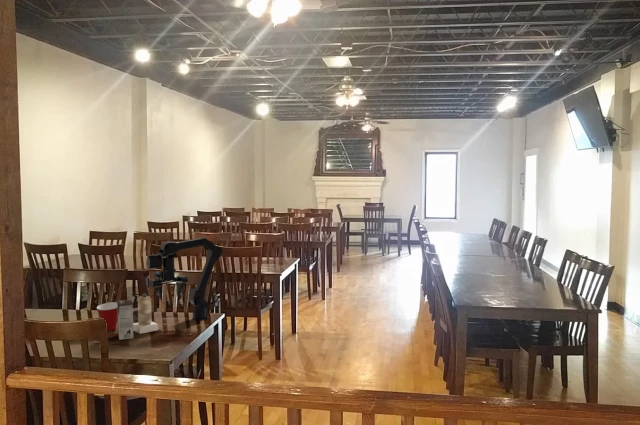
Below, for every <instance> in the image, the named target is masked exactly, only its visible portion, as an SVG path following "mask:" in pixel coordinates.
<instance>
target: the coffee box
mask: <svg viewBox="0 0 640 425" xmlns="http://www.w3.org/2000/svg"><path fill="white" fill-rule="evenodd" d="M116 303H117V314H118V321H117V329H118V330H117V334H118V340H119V341H121V340H128V339H134V331H133V308H134V307H133V306H134V305H133V301H132V299H122V300H121V299H120V300H116Z"/></svg>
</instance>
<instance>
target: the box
mask: <svg viewBox="0 0 640 425" xmlns="http://www.w3.org/2000/svg"><path fill="white" fill-rule="evenodd" d="M133 323H138V307H133Z"/></svg>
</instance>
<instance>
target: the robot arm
mask: <svg viewBox="0 0 640 425" xmlns="http://www.w3.org/2000/svg"><path fill="white" fill-rule="evenodd" d="M196 247H202V248H203V249H204V250H205V251H206V258H205V259H206V260H205V262H204V266H203V268H202V271H201V273H200V276H199V279H198V281H197V284H196V286H195V287H194V288H190V291H189V294H188V295H187V296H188V300H189V301H188V302H190V304H191V305H192V307H193V310H192V317H191V319H193V320H196V321H202V320H208V319H210V317H209V316H208V308H209V302H207V301H206V299H205V297H206V288H207V286H208V283H209V280H210V277H211V275H212V272H213V269H214V267H215V264H216V263H217V262H218V261H219V260H220V258H221V256H222V255H223V252H224V251H223V248H222V247H221V246H220V245H216V244H214V243H213V242H211V241H210V240H209V239H207V238H206V237H204V236H203V237H202V236H201V237H198V238H193V239H192V238H191V239H188V240H182V241H181V240H180V241H163V242H162V243H161V245H160V248H159V250H158V251H157V253H156V254H148V255H147V258H146V261H145V264H146V268H147V269H148V270H153V269H160V268H161V267H162V268H161V269H160V270H161V272H160V271H159V270H158V271H154V272H153V278H154V279H152V278H151V279H149V281H148V286H149V287H152V288H153V289H154V290H155V291H156V293H157V296H158V298H159V300H162V299H163V286H162V284H169V283H170V284H171V283H175V286H176V297H177V298H178V297H179V296H180V295H181V292H182V290H183V288H184V286H185V285H186V284H187V283H189V276H186V275H177V276H175V273H176V271H177V270H176V268H175V259H176V258H179V257H180V256H179V255H178V254H177V253H178V252H179V251H182V250H187V249H191V248H196Z"/></svg>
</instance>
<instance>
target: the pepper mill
mask: <svg viewBox="0 0 640 425" xmlns="http://www.w3.org/2000/svg"><path fill="white" fill-rule="evenodd" d="M137 306H138V307H137V308H138V325H150V324H151V323H152V322H153V321H152V298H151V296H150V295H148V294H147V293H145V292H143V293H142V295H140V296H139V297H138V299H137Z"/></svg>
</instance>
